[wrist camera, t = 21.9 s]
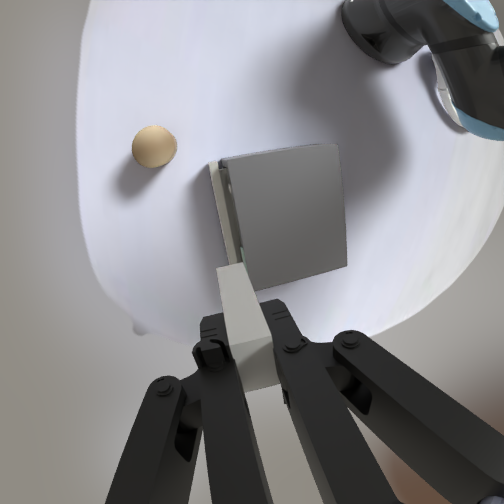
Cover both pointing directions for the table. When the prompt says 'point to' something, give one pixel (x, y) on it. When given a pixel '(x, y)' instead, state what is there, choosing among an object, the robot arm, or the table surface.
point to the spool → (154, 146)
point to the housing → (289, 212)
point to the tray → (226, 212)
